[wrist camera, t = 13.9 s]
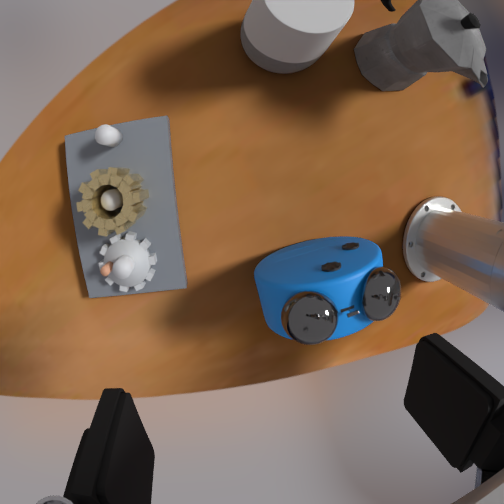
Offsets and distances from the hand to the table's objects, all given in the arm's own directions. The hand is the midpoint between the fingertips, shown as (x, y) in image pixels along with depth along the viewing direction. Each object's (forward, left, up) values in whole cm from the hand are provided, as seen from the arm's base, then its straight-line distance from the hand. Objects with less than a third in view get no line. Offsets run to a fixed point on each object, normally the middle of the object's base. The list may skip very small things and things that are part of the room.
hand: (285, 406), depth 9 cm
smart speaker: (-8, -22, -28) cm, 37 cm away
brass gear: (+11, -5, -26) cm, 29 cm away
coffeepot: (-22, -22, -28) cm, 42 cm away
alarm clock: (-9, +5, -28) cm, 30 cm away
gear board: (+11, -4, -28) cm, 31 cm away
